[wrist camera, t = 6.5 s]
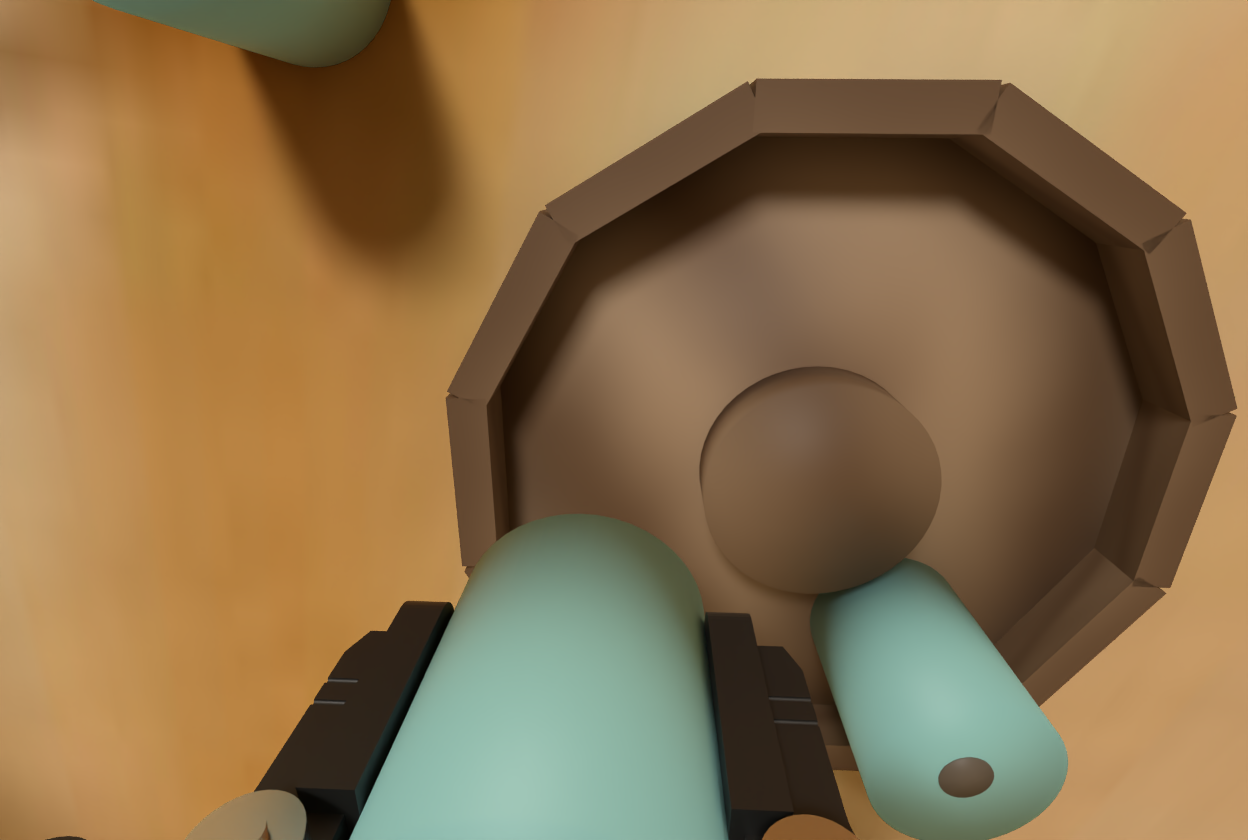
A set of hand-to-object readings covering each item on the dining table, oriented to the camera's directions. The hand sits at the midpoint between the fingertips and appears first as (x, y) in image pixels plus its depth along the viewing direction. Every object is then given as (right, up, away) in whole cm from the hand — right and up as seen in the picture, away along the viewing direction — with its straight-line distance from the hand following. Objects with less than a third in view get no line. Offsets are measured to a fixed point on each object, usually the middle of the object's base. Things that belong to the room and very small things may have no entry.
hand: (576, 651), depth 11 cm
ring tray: (+6, +3, +8) cm, 10 cm away
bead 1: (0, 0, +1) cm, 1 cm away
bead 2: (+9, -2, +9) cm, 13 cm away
